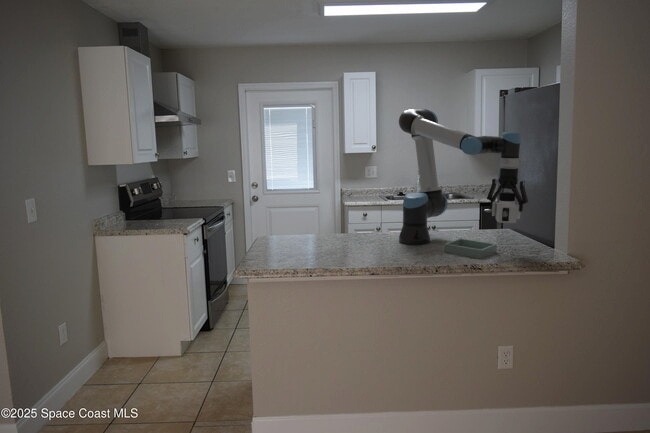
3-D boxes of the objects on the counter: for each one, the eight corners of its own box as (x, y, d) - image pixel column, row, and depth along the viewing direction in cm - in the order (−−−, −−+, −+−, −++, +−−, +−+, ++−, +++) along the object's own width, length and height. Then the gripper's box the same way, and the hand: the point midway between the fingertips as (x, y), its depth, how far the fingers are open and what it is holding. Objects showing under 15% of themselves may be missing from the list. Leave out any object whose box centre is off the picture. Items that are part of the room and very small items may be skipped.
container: (516, 223, 219) (518, 193, 217) (497, 222, 221) (499, 193, 218) (513, 219, 227) (515, 191, 224) (495, 219, 228) (497, 191, 226)
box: (443, 251, 225) (444, 244, 225) (459, 245, 236) (460, 238, 235) (481, 258, 213) (481, 250, 213) (496, 251, 224) (496, 244, 223)
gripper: (480, 166, 224) (477, 215, 228) (532, 169, 209) (528, 221, 213) (487, 165, 229) (485, 212, 234) (538, 168, 214) (534, 219, 219)
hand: (505, 217), depth 223 cm, fingers closed on container, 10 cm apart
